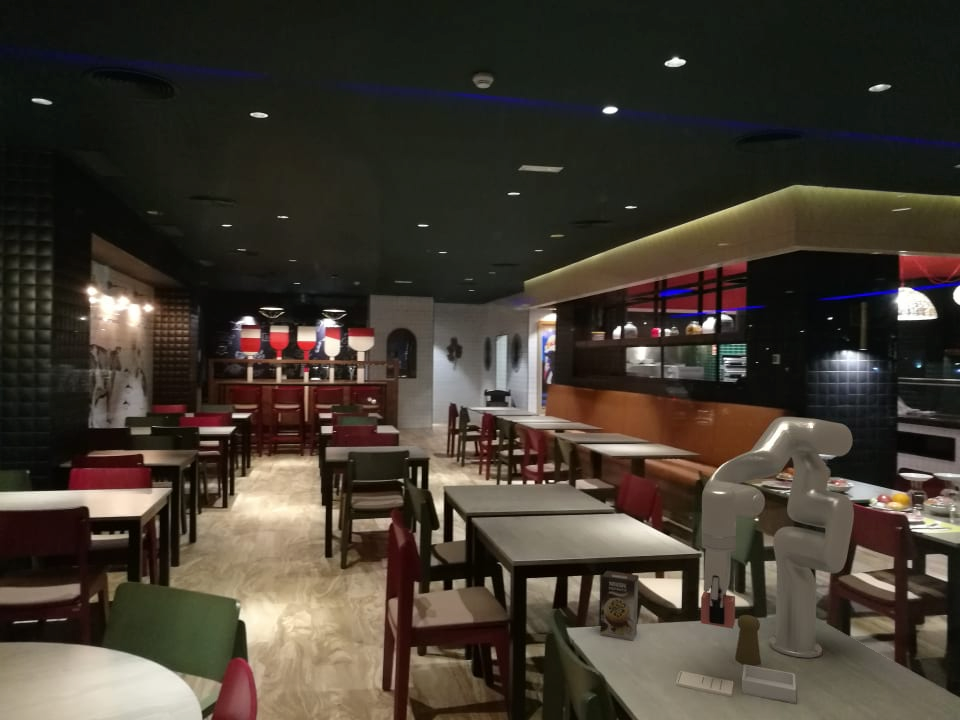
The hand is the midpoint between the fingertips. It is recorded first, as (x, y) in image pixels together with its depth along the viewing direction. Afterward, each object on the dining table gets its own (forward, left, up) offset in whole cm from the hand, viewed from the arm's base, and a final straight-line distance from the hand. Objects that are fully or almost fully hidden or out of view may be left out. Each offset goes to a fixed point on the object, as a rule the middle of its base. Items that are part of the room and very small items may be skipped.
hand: (718, 618), depth 159 cm
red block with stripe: (0, 0, -1) cm, 1 cm away
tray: (-1, +11, -15) cm, 18 cm away
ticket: (+3, -2, -15) cm, 15 cm away
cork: (-16, +6, -15) cm, 23 cm away
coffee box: (-18, -27, -15) cm, 36 cm away
